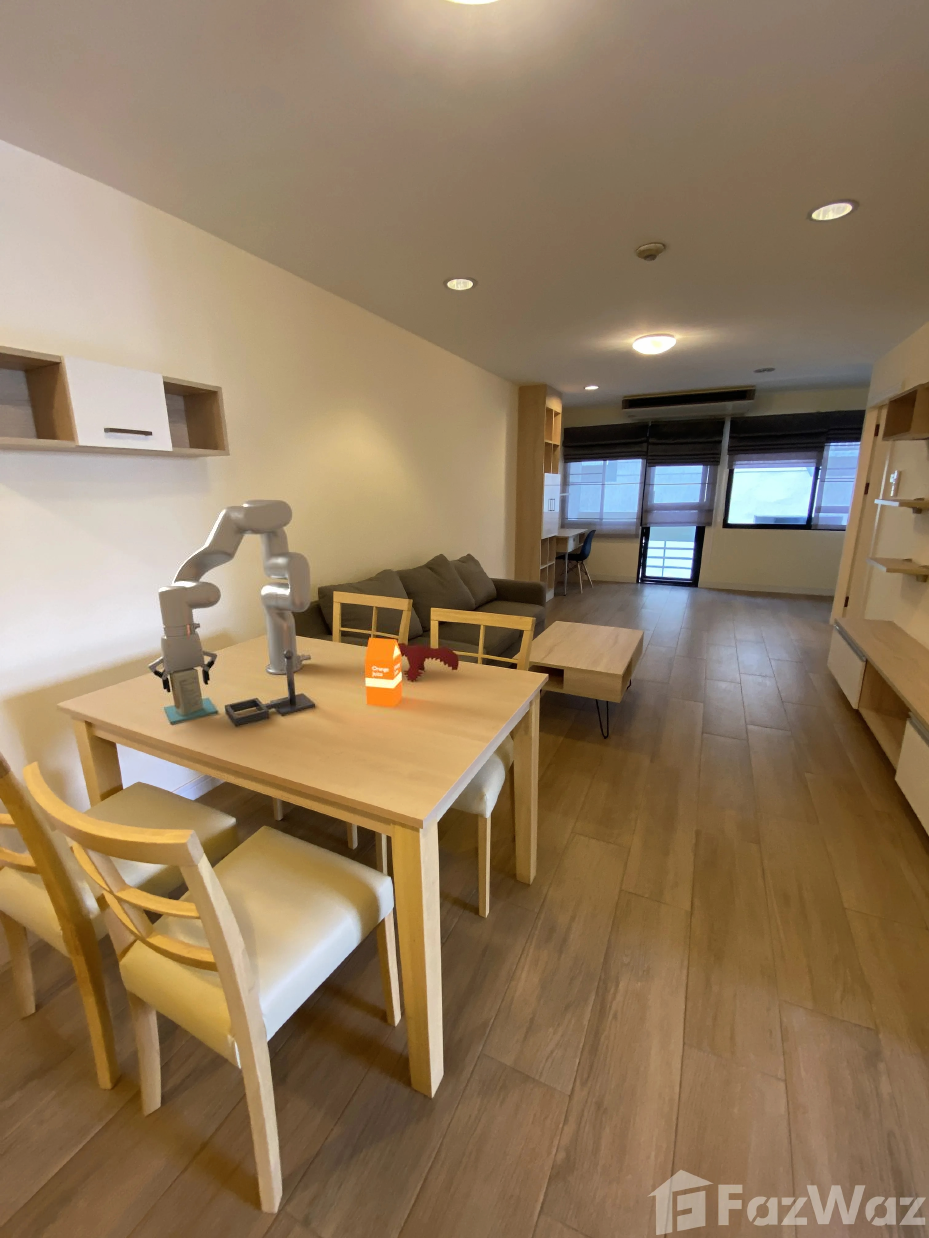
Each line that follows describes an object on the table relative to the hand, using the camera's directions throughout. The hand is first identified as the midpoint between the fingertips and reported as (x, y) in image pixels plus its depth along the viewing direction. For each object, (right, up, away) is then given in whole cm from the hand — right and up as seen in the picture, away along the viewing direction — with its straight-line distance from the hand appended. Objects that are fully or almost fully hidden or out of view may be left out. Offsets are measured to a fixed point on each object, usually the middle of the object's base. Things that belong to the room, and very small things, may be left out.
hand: (187, 687), depth 144 cm
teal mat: (0, -7, +2) cm, 8 cm away
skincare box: (0, -7, +1) cm, 7 cm away
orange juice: (+55, -6, +11) cm, 56 cm away
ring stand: (+23, -7, +2) cm, 25 cm away
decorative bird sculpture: (+64, 0, +32) cm, 71 cm away
